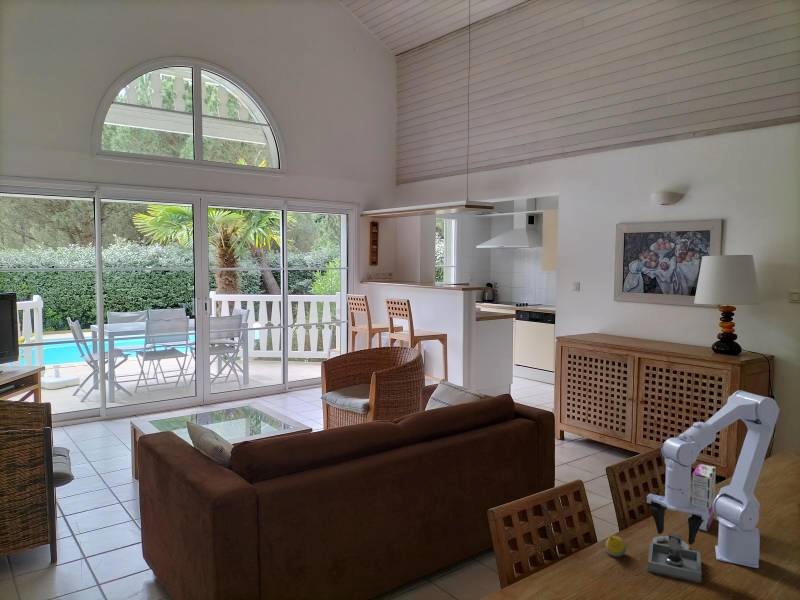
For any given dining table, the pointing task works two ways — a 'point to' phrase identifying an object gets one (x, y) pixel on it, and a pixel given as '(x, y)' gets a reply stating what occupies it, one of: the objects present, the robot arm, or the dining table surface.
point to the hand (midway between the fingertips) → (675, 537)
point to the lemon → (615, 546)
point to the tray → (687, 572)
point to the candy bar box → (704, 491)
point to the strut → (674, 551)
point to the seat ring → (665, 538)
